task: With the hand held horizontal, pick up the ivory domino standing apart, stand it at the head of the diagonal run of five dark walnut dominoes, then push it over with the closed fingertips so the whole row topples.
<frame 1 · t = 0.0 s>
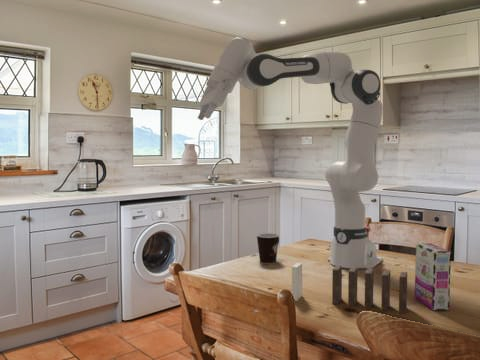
hand: (203, 118, 150), 54 cm above the table, tool tilted 30°, fingers open, 8 cm apart
domino 4: (368, 305, 128), on the table
candy bar box: (431, 304, 129), on the table
ivory domino: (297, 298, 134), on the table
domino 3: (352, 303, 129), on the table
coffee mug: (271, 260, 179), on the table
domino 5: (385, 307, 126), on the table
domino 6: (402, 310, 124), on the table
domino 2: (337, 301, 131), on the table
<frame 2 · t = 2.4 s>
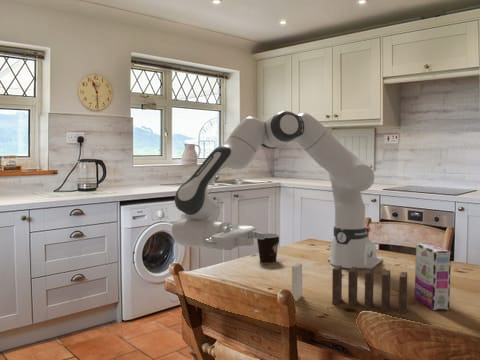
hand: (258, 239, 138), 17 cm above the table, tool horizontal, fingers open, 8 cm apart
nothing on the table moved.
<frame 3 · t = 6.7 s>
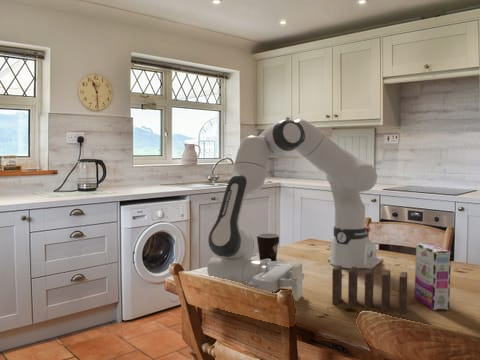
hand: (300, 280, 134), 6 cm above the table, tool horizontal, fingers closed on ivory domino, 5 cm apart
ivory domino: (297, 298, 134), on the table, touching gripper
everything else where it was.
when the fingers open (6 cm above the table, at t = 12.6 s): ivory domino stays where it is, on the table.
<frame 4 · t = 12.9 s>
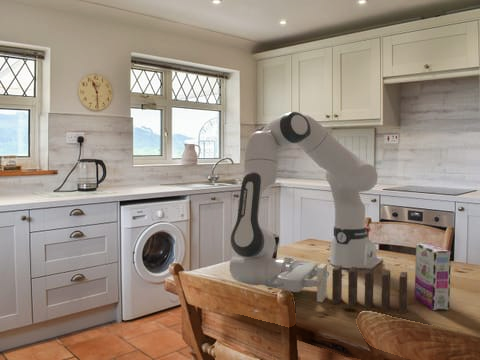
hand: (324, 278, 132), 6 cm above the table, tool horizontal, fingers open, 8 cm apart
ivory domino: (321, 299, 133), on the table
everything else where it was.
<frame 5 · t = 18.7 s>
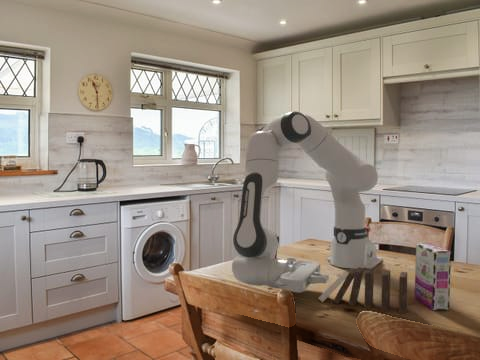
hand: (327, 279, 132), 6 cm above the table, tool horizontal, fingers closed
ivory domino: (322, 297, 133), point 1 cm above the table, tilted 40°
domino 3: (352, 303, 129), on the table, tilted 11°
domino 2: (337, 300, 131), on the table, tilted 27°
everything else where it was.
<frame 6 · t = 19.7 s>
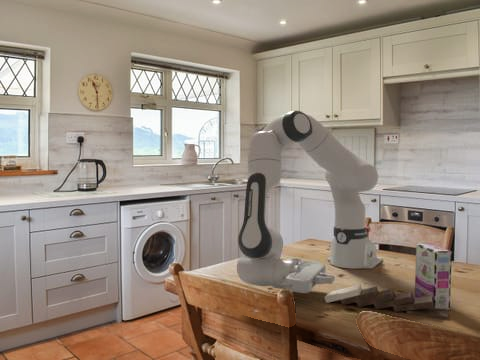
hand: (333, 279, 131), 6 cm above the table, tool horizontal, fingers closed
domino 4: (375, 303, 127), point 1 cm above the table, tilted 71°, touching domino 5
candy bar box: (431, 304, 129), on the table, touching domino 5, domino 6
ivory domino: (327, 297, 132), point 1 cm above the table, tilted 69°, touching domino 2
domino 3: (358, 301, 129), point 1 cm above the table, tilted 69°, touching domino 2
domino 5: (394, 305, 125), point 1 cm above the table, tilted 75°, touching candy bar box, domino 4, domino 6
domino 6: (407, 310, 123), on the table, tilted 90°, touching candy bar box, domino 5
domino 2: (342, 299, 130), point 1 cm above the table, tilted 69°, touching domino 3, ivory domino
everything else where it was.
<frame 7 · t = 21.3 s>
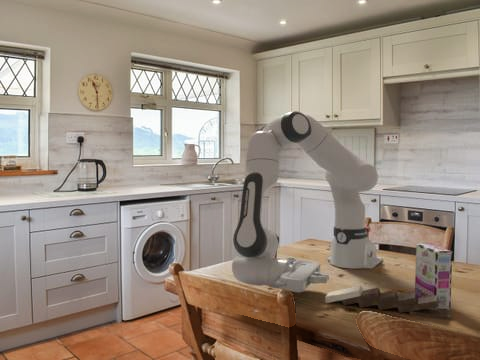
hand: (327, 279, 132), 6 cm above the table, tool horizontal, fingers closed
domino 4: (379, 304, 126), point 1 cm above the table, tilted 71°, touching domino 3
candy bar box: (432, 304, 129), on the table
domino 3: (360, 302, 128), point 1 cm above the table, tilted 72°, touching domino 2, domino 4
domino 5: (399, 306, 124), point 1 cm above the table, tilted 72°, touching domino 6
domino 6: (410, 310, 123), on the table, tilted 90°, touching domino 5
domino 2: (344, 299, 130), point 1 cm above the table, tilted 70°, touching domino 3, ivory domino
everything else where it was.
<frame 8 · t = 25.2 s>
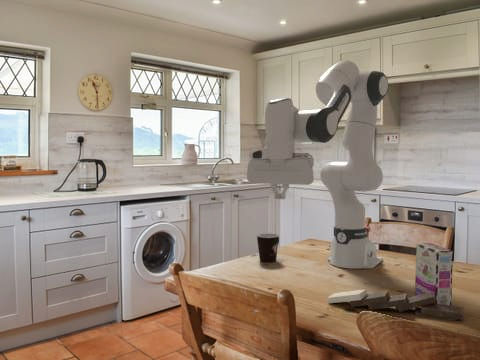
hand: (279, 199, 136), 29 cm above the table, tool pointing down, fingers closed
domino 4: (396, 306, 124), point 1 cm above the table, tilted 73°, touching domino 3
ivory domino: (331, 298, 132), point 1 cm above the table, tilted 73°, touching domino 2
domino 3: (369, 304, 127), point 1 cm above the table, tilted 74°, touching domino 2, domino 4
domino 5: (421, 307, 122), point 1 cm above the table, tilted 90°, touching domino 6
domino 6: (414, 312, 122), on the table, tilted 90°, touching domino 5
domino 2: (352, 301, 129), point 1 cm above the table, tilted 72°, touching domino 3, ivory domino
everything else where it was.
at the end: domino 6 tilted 90°; ivory domino tilted 73°; ivory domino 6.3 cm from the domino 2 (horizontally) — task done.
